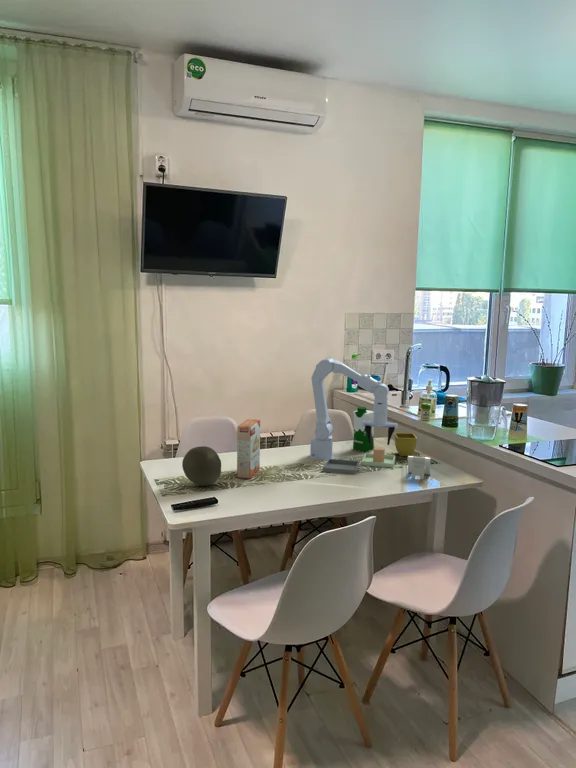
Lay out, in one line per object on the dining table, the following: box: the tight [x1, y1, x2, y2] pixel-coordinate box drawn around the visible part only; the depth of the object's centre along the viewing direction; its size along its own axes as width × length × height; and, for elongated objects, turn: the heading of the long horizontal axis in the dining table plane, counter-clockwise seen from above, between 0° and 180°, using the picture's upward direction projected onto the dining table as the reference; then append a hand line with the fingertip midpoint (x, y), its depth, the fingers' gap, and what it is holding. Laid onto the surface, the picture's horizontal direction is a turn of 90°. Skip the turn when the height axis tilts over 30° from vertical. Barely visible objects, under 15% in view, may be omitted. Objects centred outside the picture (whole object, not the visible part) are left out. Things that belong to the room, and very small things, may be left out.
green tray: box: [361, 452, 396, 470], centre depth 246 cm, size 13×13×2 cm
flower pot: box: [393, 432, 418, 457], centre depth 258 cm, size 9×9×9 cm
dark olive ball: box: [182, 445, 222, 487], centre depth 215 cm, size 14×14×15 cm
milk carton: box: [352, 406, 375, 453], centre depth 266 cm, size 9×9×20 cm
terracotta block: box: [372, 446, 386, 463], centre depth 245 cm, size 4×4×6 cm
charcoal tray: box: [322, 458, 360, 475], centre depth 237 cm, size 13×13×2 cm
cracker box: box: [236, 418, 261, 479], centre depth 230 cm, size 14×6×21 cm, turn 167°
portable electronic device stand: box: [407, 455, 431, 480], centre depth 229 cm, size 9×8×8 cm
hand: (379, 443), depth 245 cm, fingers open, 7 cm apart
